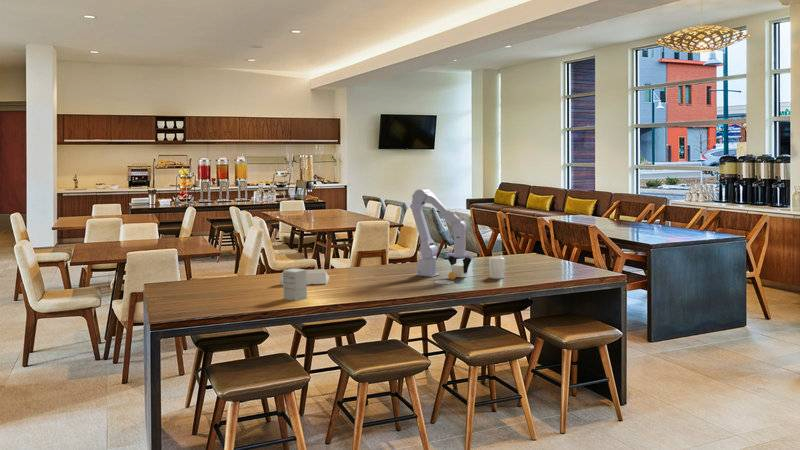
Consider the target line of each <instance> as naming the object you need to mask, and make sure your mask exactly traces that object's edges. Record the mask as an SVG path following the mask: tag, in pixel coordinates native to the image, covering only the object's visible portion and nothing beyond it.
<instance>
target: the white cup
mask: <svg viewBox="0 0 800 450" xmlns="http://www.w3.org/2000/svg"><path fill="white" fill-rule="evenodd" d="M488 261H489V263H488V267H489V278H490V279H498V280H499V279H504V277H505V275H504V274H505V266H506V265H505V264H506V263H505V262H506V258H505V256H490V257H488Z"/></svg>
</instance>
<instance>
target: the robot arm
mask: <svg viewBox="0 0 800 450" xmlns="http://www.w3.org/2000/svg"><path fill="white" fill-rule="evenodd" d="M411 197H412V199H411V206H410V208H411V212H412V216H413V219H414V222H415V225H416V229H417V232H418V235H419V239H420V255H421V257H419V258H418V259H417V262H416V263H417V265H416V266H417V267H416V268H417V269H416V270H417V271H416V272H417V273H416V276H421V277H429V278H431V277H436V276H437V277H438V276H439V275H441V273H438V271H437V267H438V266H437V255H438V253H439V247H438V246H437V245H436V243H435V241H434V239H433V238H432V236H431V233H430V230H429V226H428V224H427V221H426V216H425V213H424V210H423V208H424V206H425V204H429V205H430V204H431V205H432V206H433V208H435V209H436V210H438V212H439V213H441V214H442V219H443V220H444V221H445V222H446V223H447V224H448V225H449V226H450V227H451V228H452V232H453V234H454V235H453V238H454V239H453V243H454V244H453V252H446V254H445V255H446V256H445V257H446V258H447V259H448V262H449V264H450V266H451V265H454V264H456V263H457V260H458V259H462V264H464V273H467V274H468V270H469V266H470V264H471V262H472V260H473V259H475V257H474V254H470V253H466V250H467V249H466V246H467V245H466V244H467V242H466V241H467V240H466V239H467V238H466V237H467V236H466V231H467V229H468V224H467V222H466V221H465V220H462V218H461V217H459V216H458V215H457V214H456V211H454V210H451V209H447V207H445V205H444V204H443V203H442V202H441V201H440V199H438V198H437V197H436V195H435V194H434V193H433V192H432V191H431V190H430V189H429V188H423V189H417V190H415V191H414V192H413V194H412V195H411Z"/></svg>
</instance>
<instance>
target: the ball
mask: <svg viewBox="0 0 800 450" xmlns="http://www.w3.org/2000/svg"><path fill="white" fill-rule="evenodd" d="M447 277H448V280H450V281H454V280H455V279H456V278H457V277H456V274H455V273H454V272H452V271H450V272H449V273H448V275H447Z"/></svg>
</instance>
